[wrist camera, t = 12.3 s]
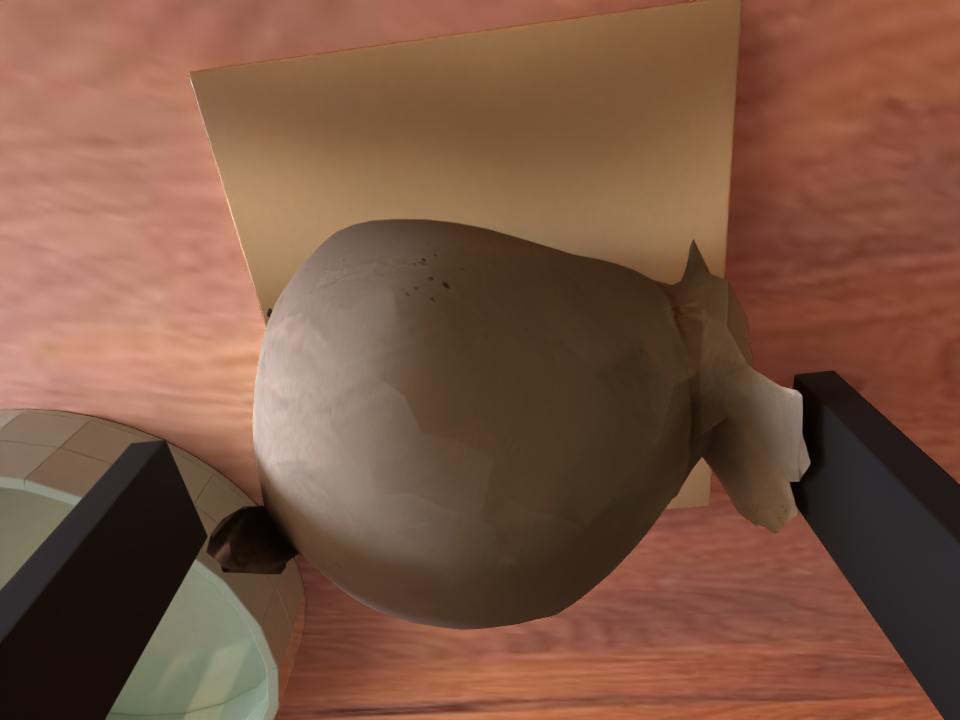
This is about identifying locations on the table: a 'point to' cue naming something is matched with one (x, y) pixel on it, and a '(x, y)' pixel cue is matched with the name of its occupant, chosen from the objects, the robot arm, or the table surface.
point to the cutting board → (493, 143)
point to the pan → (200, 598)
